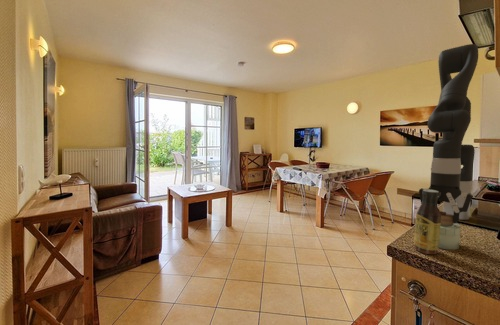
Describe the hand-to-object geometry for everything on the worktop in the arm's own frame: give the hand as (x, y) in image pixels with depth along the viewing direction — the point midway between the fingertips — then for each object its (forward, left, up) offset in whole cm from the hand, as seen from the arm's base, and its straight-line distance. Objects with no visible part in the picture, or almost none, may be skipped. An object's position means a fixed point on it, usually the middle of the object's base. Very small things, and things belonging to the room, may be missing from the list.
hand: (442, 220), depth 78 cm
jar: (0, 0, -8) cm, 8 cm away
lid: (0, 0, -1) cm, 1 cm away
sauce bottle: (+10, -3, -8) cm, 13 cm away
